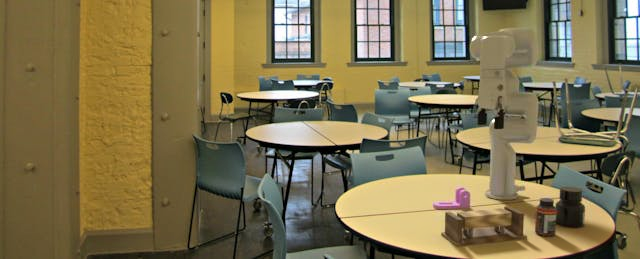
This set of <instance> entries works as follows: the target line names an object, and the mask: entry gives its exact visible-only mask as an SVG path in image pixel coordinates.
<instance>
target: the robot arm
mask: <svg viewBox="0 0 640 259" xmlns="http://www.w3.org/2000/svg"><path fill="white" fill-rule="evenodd" d="M538 51H539V50H538V40H537V34H536V32H535V31H534V29H533V28H531V27H509V28H508V27H506V28H502V29H499V31H492V32H488V33H482V34H478V35H477V34H476V35H474V36H473V37H472V39H471V41H470V43H469V53H470V55H471V57H472V58H473V59H478V60H479V59H480V62H479V63H480V65H479V67H480V68H479V83H478V84H479V85H478V94H477V98H476V99H475V100H474V101H475V105H476V106H475V108H476V113H477V125H478V126H486V125H488V124H487V123H488V112H487V111H488V110H489V111H493V112H494V115H495V116H494V117H493V118H494V119H492V120H491V121H490V123H489V126H488V134H489V140H490V161H489V164H490V165H489V189H488V190H485V191H484V192H485V193H484V195H485V196H486V197H488V198H490V199H494V200H499V201H500V200H501V201H502V200H503V201H510V200H511V201H513V200H516V199H518V198H519V194H518V192H519V191H520V192H522V191H523V192H524V191H525V190H526V186H525V185H517V184H516V162H517V161H516V159H517V155H516V151H515V149H514V148H513V146H512V145H511V144H512V143H513V144H514V143H515V144H533V143H534V142H535V141H536V138H537V132H538V119H539V118H538V116H539V100H538V99H539V98H538V96H537V94H535V93H534V92H531V91H529V92H528V91H520V90H519V88H520V79H519V77H518V76H517V74H516V73H515V72H514V71H513V70H512V69H530V68H531V69H532V68H534V67H536V65H537V63H538V58H539V53H538ZM506 116H507V117H506ZM508 116H509V117H508ZM511 117H512V118H511ZM514 117H524V118H514Z"/></svg>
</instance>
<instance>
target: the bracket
mask: <svg viewBox="0 0 640 259" xmlns="http://www.w3.org/2000/svg"><path fill="white" fill-rule="evenodd" d="M432 207H433V208H434V209H435V210H436V209H437V210H455V209H456V210H459V209H463V210H465V209H470V208H471V193H470V191H468V190H467V189H466V188H465V187H463V186H459V187H457V188H456V189H455V199H454V200H452V201H449V200H448V201H447V200H446V201H435V202H433V204H432Z"/></svg>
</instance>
